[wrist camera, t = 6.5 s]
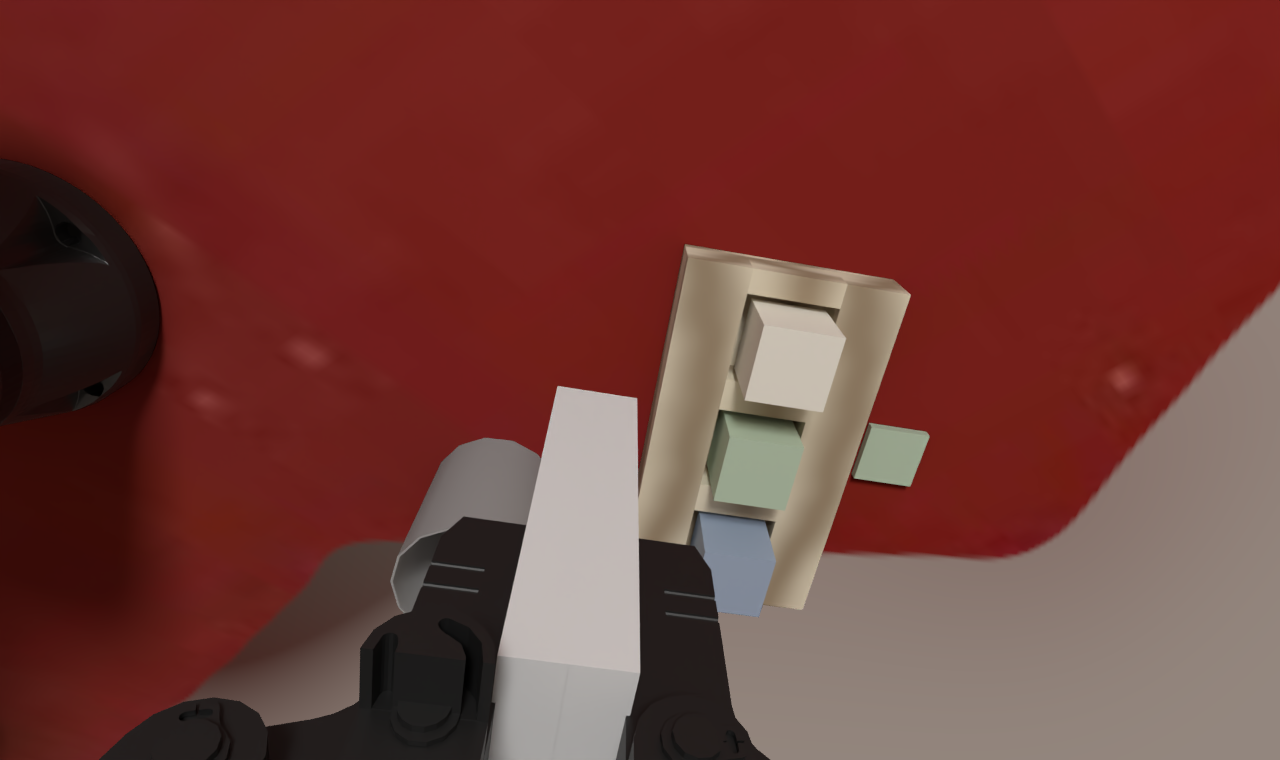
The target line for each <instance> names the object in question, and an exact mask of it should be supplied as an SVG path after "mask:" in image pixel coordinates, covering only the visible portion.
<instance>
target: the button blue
mask: <svg viewBox="0 0 1280 760" xmlns="http://www.w3.org/2000/svg"><path fill="white" fill-rule="evenodd" d="M690 546H695V547H696V549H697V550H698V552H699V553H700V555H701V556H702V557H703V559H704V560H705V562H706V563H707V565H708V566H709V568H710V569H711V572H712V578H713V585H714V592H715V601H716V605H717V612H723V613H731V614H738V615H746V616H753V617H759V615H760V612H761V609H762V605H763V602H764V599H765V596H766V593H767V590H768V586H769V583H770V580H771V577H772V574H773V570H774V567H775V564H776V559H775V556H774V552H773V548H772V545H771V541H770V538H769V534H768V531H767V527H766V523H765V520H761V519H754V518H747V517H740V516H732V515H725V514H718V513H711V512H704V511H698V515H697V519H696V523H695V527H694V531H693V535H692V539H691V543H690Z"/></svg>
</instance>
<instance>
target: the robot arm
mask: <svg viewBox="0 0 1280 760" xmlns="http://www.w3.org/2000/svg"><path fill="white" fill-rule="evenodd" d="M158 332H159V305H158V298H157V294H156V289H155V286H154V283H153V280H152V277H151V275H150V272H149V270H148V268H147V266H146V263H145V261H144V260H143V258H142V256H141V254H140V252H139V251H138V249H137V248H136V246H135V244H134V243H133V242H132V240H131V239H130V237H129V236H128V235H127V233H126V232H125V231H124V230H123V228H122V227H121V226H120V225H119V224H118V223H117V222H116V221H115V219H114V218H113V217H112V216H111V215H110V214H109V213H108V212H107V211H105V210H104V209H103V208H102V207H101V206H100V205H99V204H98V203H96V202H95V201H94V200H93V199H91V198H90V197H89V196H87V195H86V194H85V193H83V192H82V191H80V190H79V189H77V188H76V187H74V186H73V185H71V184H69V183H68V182H66V181H64V180H62V179H60V178H59V177H56V176H54V175H52V174H50V173H48V172H46V171H43V170H41V169H38V168H36V167H33V166H30V165H27V164H23V163H19V162H15V161H10V160H5V159H0V426H3V425H8V424H13V423H18V422H23V421H27V420H32V419H37V418H42V417H47V416H52V415H57V414H62V413H67V412H71V411H75V410H78V409H82V408H85V407H87V406H89V405H92V404H94V403H97V402H98V401H100V400H102V399H104V398H106V397H107V396H109V395H110V394H112V393H113V392H115V391H116V390H118V389H119V388H121V387H122V386H124V385H125V384H127V383H128V382H130V381H131V380H132V379H133V378H135V377H136V376H137V375H138V374H139V373H140V371H141V370H142V369H143V368H144V367H145V365H146V364H147V362H148V361H149V359H150V357H151V355H152V353H153V350H154V348H155V345H156V341H157V337H158ZM360 650H361V651H360V693H359V694H360V695H359V696H360V697H359V701H358V702H357V703H355V704H354V705H352V706H350V707H347V708H345V709H343V710H341V711H339V712H336V713H334V714H331V715H327V716H323V717H319V718H315V719H311V720H305V721H299V722H292V723H286V724H281V725H274V726H268V727H265V725H264V723H263V721H262V719H261V717H260V715H259V713H257V712H256V711H254V710H253V709H251V708H250V707H248V706H246V705H245V704H243V703H242V702H240V701H234V700H227V699H220V698H207V699H201V700H194V701H187V702H183V703H180V704H178V705H175V706H173V707H170V708H168V709H166V710H163V711H161V712H158V713H156V714H153V715H152V716H151V717H149V718H148V719H147V720H145V721H144V722H142V723H141V724H140V725H138V726H137V727H135V728H134V729H133V730H131V731H130V732H129V733H127V734H126V735H125V736H124V737H123V738H122V739H121V740H119V741H118V742H117V743H116V744H115V745H114V746H113V747H112V748H111V749H110V750H109V751H108V752H107V753H106V754H105V755H103V756H102V757H101V758H100V759H99V760H770V759H769V758H767V757H766V756H765V755H764V754H762V753H761V752H760V751H758V750H757V749H756V748H755V747H754V745H753V744H752V743H751V740H750V738H749V735H748V732H747V731H746V730H745V729H744V727H743V726H742V725H741V724H740V723H739V722H738V721H737V719H736V718H735V715H734V712H733V708H732V705H731V698H730V691H729V686H728V678H727V671H726V665H725V659H724V652H723V645H722V638H721V632H720V626H719V623H718V612H717V605H716V601H715V592H714V585H713V578H712V572H711V569H710V568H709V566H708V565H707V563H706V562H705V560H704V559H703V557H702V556H701V555H700V553H699V552H698V550H697V549H696V547H695V546H690V545H683V544H676V543H669V542H662V541H654V540H647V539H640V538H639V523H638V438H637V398H632V397H625V396H619V395H612V394H606V393H599V392H593V391H586V390H580V389H573V388H567V387H560V386H558V387H557V391H556V396H555V400H554V405H553V409H552V414H551V418H550V423H549V427H548V432H547V436H546V441H545V445H544V449H543V454H542V458H541V463H540V467H539V472H538V476H537V481H536V485H535V490H534V494H533V499H532V503H531V507H530V512H529V516H528V521H527V525H522V524H515V523H508V522H501V521H493V520H486V519H479V518H472V517H465V516H464V517H462V518H461V519H460V520H459V521H458V522H457V523H455V524H454V525H453V526H452V527H451V528H450V529H449V530H447V531H446V532H445V533H444V534H443V535H442V536H441V538H440V540H439V543H438V545H437V548H436V551H435V553H434V556H433V558H432V561H431V566H429V568H428V571H427V573H426V576H425V578H424V581H423V586H422V587H421V589H420V591H419V594H418V596H417V599H416V601H415V604H414V606H413V609H412V611H411V612H408V613H404V614H401V615H397V616H394V617H393V618H391V619H390V620H388V621H387V622H385V623H383V624H382V625H380V626H379V627H377V628H376V629H374V630H373V632H372V633H371V634H370V636H369V637H368V638H367V640H366V641H365V642H364V644H363V645H362V647H361V648H360Z"/></svg>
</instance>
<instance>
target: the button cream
mask: <svg viewBox="0 0 1280 760" xmlns="http://www.w3.org/2000/svg"><path fill="white" fill-rule="evenodd" d="M845 341H846V337H845V336H844V335H843V333H842V332H841V331H840V329H839V328H838V327H837V325H836V324H835V323H834V321H833V320H832V319H831V317H830V316H829V314H828V313H827V312H826V311H825V310H819V309H813V308H807V307H800V306H794V305H788V304H782V303H776V302H770V301H764V300H758V299H752V298H751V302H750V306H749V310H748V314H747V318H746V322H745V326H744V330H743V334H742V338H741V343H740V347H739V351H738V355H737V359H736V363H735V367H734V369H735V372H736V375H737V378H738V381H739V385H740V388H741V391H742V394H743V397H744V400H745V401H752V402H758V403H765V404H771V405H778V406H784V407H791V408H797V409H804V410H810V411H817V412H823V411H824V408H825V404H826V401H827V398H828V395H829V392H830V388H831V385H832V382H833V379H834V376H835V372H836V369H837V366H838V363H839V360H840V357H841V353H842V350H843V347H844V344H845Z"/></svg>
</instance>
